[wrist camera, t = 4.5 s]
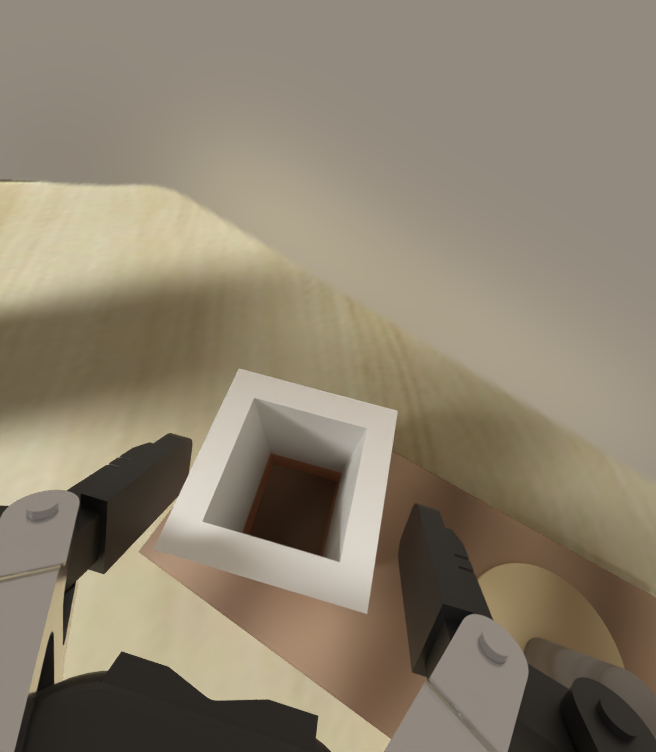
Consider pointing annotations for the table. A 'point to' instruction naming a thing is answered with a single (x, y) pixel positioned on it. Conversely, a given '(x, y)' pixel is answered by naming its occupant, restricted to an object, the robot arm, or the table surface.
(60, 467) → the table surface
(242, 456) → the sleeve
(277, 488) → the pin board
